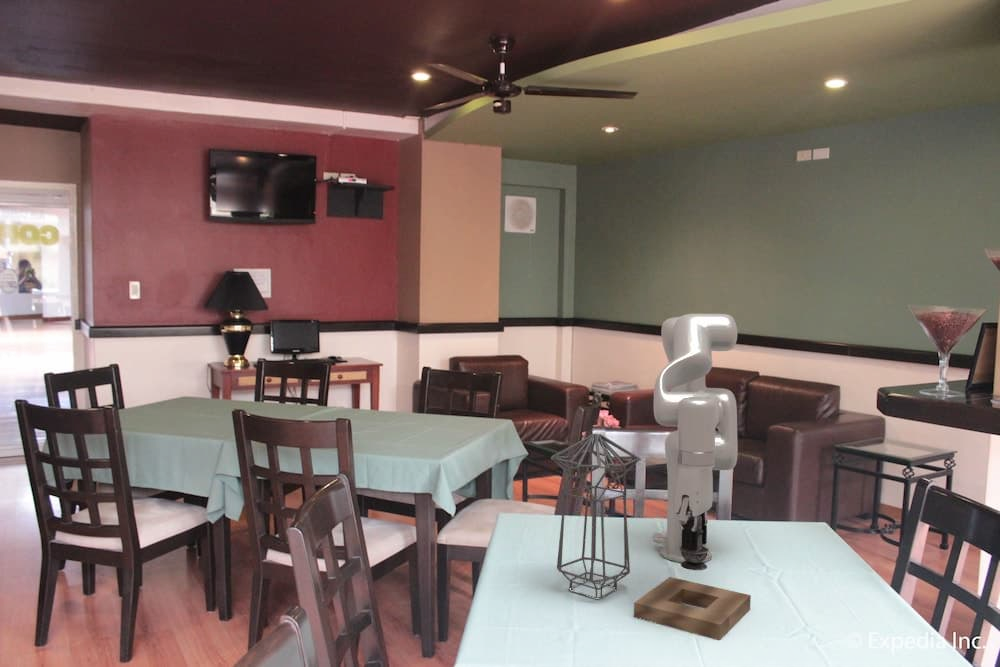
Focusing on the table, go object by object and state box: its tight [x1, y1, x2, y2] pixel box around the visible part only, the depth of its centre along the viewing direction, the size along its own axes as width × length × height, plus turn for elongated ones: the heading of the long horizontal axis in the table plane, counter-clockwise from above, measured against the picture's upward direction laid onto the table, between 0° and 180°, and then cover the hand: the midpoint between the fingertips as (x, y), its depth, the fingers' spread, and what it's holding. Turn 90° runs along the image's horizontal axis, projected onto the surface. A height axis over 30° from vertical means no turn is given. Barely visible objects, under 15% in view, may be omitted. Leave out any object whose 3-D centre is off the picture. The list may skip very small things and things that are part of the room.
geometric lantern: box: [550, 433, 642, 599], centre depth 176 cm, size 16×16×35 cm
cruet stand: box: [633, 576, 752, 641], centre depth 164 cm, size 18×18×3 cm
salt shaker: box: [679, 513, 710, 571], centre depth 163 cm, size 6×6×12 cm
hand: (694, 545), depth 163 cm, fingers closed on salt shaker, 4 cm apart
